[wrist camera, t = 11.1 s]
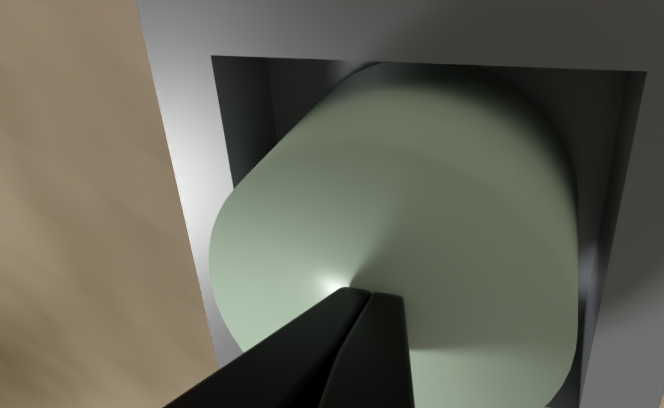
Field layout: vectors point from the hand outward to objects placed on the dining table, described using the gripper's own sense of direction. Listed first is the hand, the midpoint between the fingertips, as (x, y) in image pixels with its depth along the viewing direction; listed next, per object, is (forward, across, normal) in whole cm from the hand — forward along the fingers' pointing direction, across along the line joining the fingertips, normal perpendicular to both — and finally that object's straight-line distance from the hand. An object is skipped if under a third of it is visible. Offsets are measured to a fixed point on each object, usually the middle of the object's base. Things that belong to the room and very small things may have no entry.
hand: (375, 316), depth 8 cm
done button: (+3, 0, 0) cm, 3 cm away
